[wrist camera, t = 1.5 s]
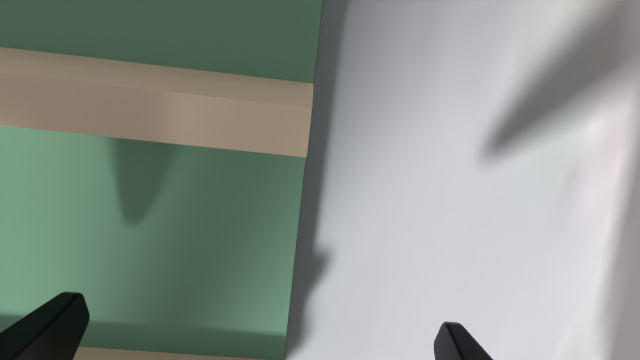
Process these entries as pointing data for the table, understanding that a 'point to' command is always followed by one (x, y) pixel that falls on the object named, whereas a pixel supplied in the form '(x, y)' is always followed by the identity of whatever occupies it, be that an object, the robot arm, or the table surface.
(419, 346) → the table surface
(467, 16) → the table surface
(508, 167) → the table surface
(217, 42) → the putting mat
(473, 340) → the robot arm
